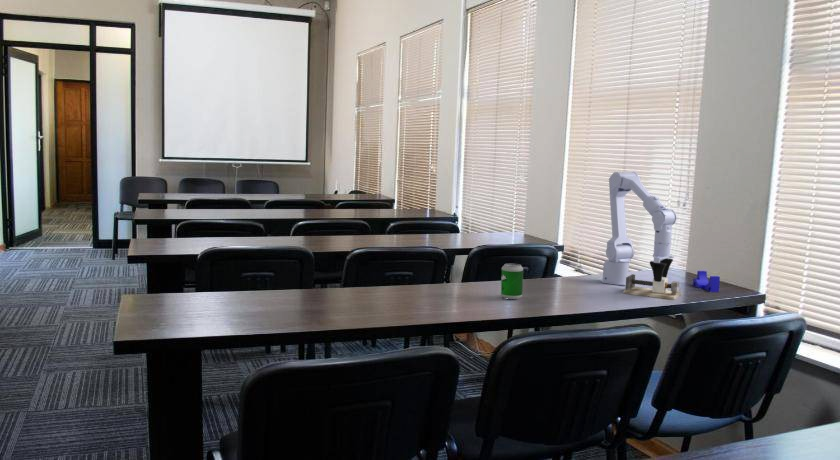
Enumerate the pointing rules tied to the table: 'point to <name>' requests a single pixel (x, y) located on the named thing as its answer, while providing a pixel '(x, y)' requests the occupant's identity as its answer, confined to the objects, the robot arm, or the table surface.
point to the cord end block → (660, 285)
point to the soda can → (512, 281)
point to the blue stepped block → (706, 282)
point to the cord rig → (648, 291)
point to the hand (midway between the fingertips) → (660, 279)
